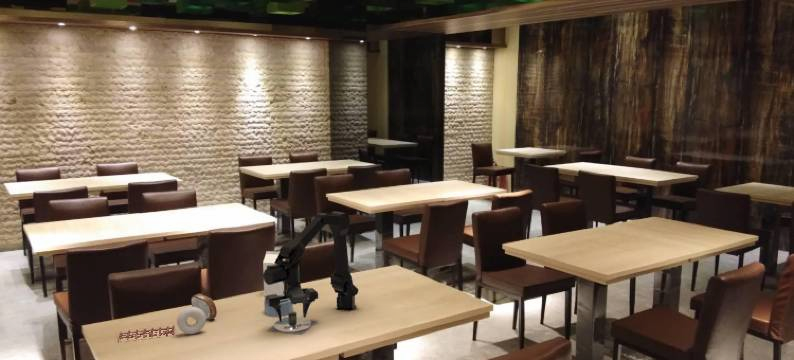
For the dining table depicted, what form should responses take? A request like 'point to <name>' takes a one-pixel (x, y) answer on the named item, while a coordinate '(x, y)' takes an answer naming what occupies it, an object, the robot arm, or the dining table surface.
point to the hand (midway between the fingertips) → (292, 319)
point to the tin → (204, 305)
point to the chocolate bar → (148, 333)
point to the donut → (188, 313)
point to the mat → (292, 332)
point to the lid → (292, 323)
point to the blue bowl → (285, 308)
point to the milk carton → (276, 287)
